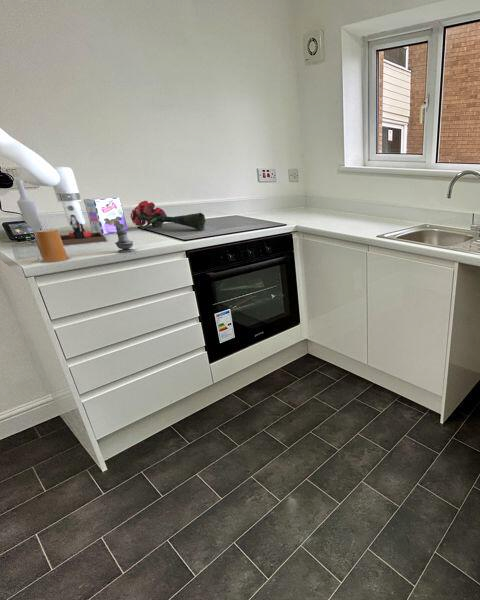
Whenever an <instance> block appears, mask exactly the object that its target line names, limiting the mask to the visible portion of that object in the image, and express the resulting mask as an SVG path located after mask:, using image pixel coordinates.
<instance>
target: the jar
mask: <svg viewBox="0 0 480 600" xmlns="http://www.w3.org/2000/svg"><path fill="white" fill-rule="evenodd" d="M34 232H35V233H34V234H35V236H34V237H35V240H36V242H35V243H36V246H37V249H38V252H39V254H40V257H41V260H42V262H44V263H57V262H63V261H66V260H68V259H69V258H68V254H67V252H66V249H65V245H63V242H62V239H61V236H62V235H61V234H60V233H59V232H58V229H56V228H43V230H36V231H34Z"/></svg>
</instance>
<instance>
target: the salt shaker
mask: <svg viewBox="0 0 480 600" xmlns="http://www.w3.org/2000/svg"><path fill="white" fill-rule="evenodd" d="M116 230H117V232H115V233H116V235H117V239H118V240H117V241H116V242H115V243H114V244H115V246H116V247H117V248H118V249H119V250H118V253H120V254H124V253H133V252H135V249H133V248H132V247H133V245H134V244H133V243H134V241H132V240H130V239H129V237H128V232H127V230H125V226H124V225H123V224H121V223H120V222H118V224H116Z"/></svg>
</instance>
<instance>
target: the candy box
mask: <svg viewBox="0 0 480 600" xmlns="http://www.w3.org/2000/svg"><path fill="white" fill-rule="evenodd" d="M83 202H84V207H85V210H86V214H87V218H88V221H89V223H90V224H89V225H90V228H91V229H90V230H91V231H92V232H91V233H97V232H100V233H101V234H102V235H103V236H105V235H108V234H114V233H117V230H116V224H118V222H120V223H121V224H123V225H124V226H125V230H126V231H128V226H127V225H128V224H127V222H126V218H125V213H124V210H123V206H122V202H121V198H120V197H116V196H115V197H114V196H107V197H106V196H105V197H93V198H84V199H83Z"/></svg>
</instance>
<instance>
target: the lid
mask: <svg viewBox="0 0 480 600" xmlns="http://www.w3.org/2000/svg"><path fill="white" fill-rule="evenodd" d="M83 233H84V237H89V236H91V233H92V232H91V231H90V230H85V231H83ZM68 235H69V237H73V238H75V237H74V234H73V230H72V231H68Z"/></svg>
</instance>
